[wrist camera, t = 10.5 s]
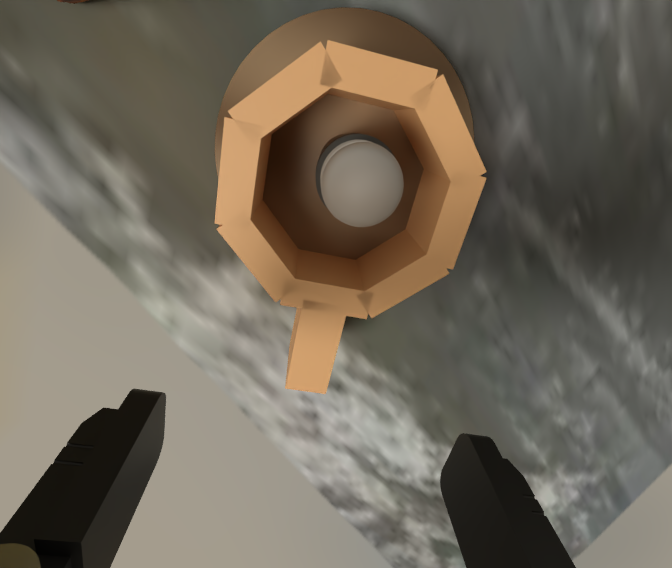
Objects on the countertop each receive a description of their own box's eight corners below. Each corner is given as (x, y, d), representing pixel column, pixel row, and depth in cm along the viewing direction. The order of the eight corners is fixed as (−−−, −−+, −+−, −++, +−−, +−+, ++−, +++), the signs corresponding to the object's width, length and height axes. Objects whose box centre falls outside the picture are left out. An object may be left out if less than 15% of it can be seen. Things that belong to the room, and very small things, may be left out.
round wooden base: (237, -18, 14) (155, -162, 7) (497, 56, 16) (661, 3, 8) (212, 248, 19) (145, 336, 11) (420, 286, 20) (483, 386, 13)
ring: (252, 38, 14) (233, 14, 11) (475, 96, 15) (518, 91, 12) (219, 333, 19) (200, 376, 16) (388, 359, 20) (403, 404, 17)
